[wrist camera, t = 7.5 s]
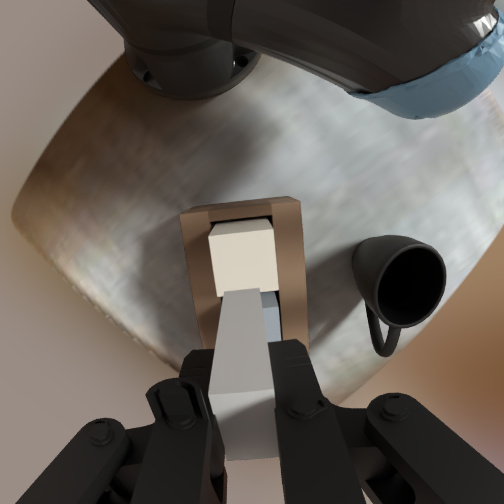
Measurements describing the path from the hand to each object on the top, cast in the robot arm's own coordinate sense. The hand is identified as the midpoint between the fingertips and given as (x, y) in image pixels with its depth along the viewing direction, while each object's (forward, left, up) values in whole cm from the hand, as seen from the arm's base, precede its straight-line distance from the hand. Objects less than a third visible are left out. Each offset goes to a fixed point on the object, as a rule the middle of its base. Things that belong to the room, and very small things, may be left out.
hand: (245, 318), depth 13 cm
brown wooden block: (+6, 0, -20) cm, 21 cm away
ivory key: (0, 0, -15) cm, 15 cm away
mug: (+6, +14, -20) cm, 25 cm away
